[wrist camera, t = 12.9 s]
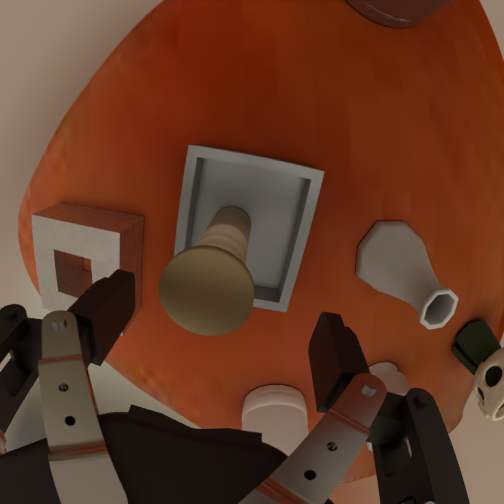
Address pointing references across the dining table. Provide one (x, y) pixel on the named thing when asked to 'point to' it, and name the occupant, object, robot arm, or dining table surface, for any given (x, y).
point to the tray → (253, 212)
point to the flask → (404, 271)
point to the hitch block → (84, 251)
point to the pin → (211, 278)
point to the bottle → (276, 416)
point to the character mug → (483, 366)
